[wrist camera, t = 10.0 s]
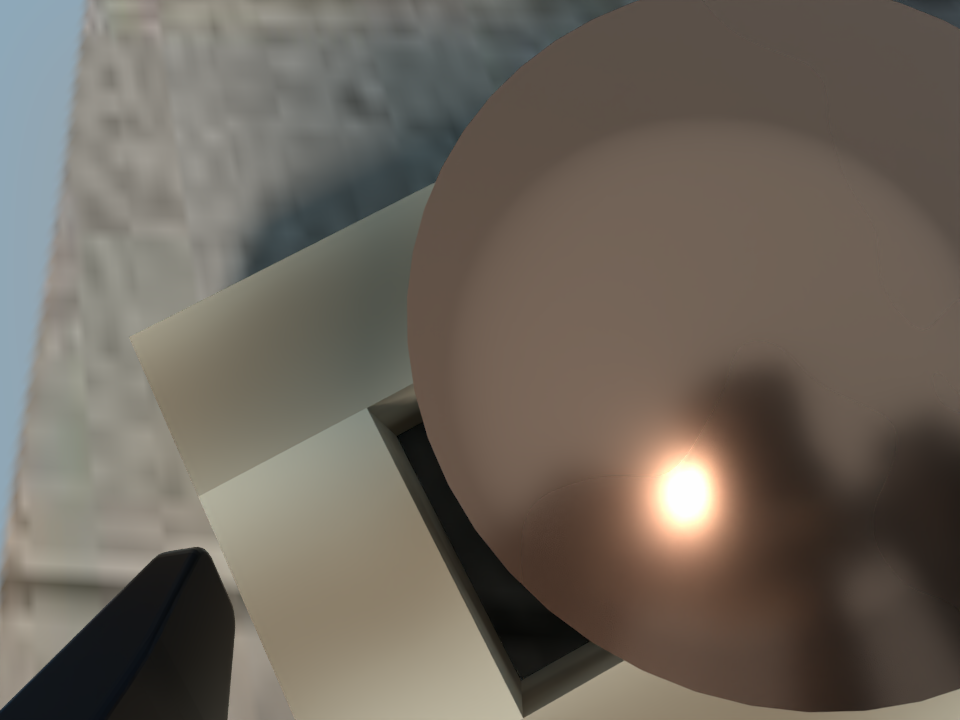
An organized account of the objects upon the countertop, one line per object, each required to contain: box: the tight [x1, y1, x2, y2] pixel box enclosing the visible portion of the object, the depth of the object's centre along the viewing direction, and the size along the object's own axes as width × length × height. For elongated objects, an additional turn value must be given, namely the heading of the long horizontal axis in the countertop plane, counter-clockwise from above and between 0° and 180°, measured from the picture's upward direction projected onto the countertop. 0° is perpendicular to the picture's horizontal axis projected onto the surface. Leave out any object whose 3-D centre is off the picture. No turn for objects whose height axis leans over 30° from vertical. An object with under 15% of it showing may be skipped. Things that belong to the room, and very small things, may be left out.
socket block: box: [129, 183, 960, 720], centre depth 15 cm, size 12×12×4 cm
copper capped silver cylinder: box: [407, 0, 960, 712], centre depth 10 cm, size 4×4×13 cm
